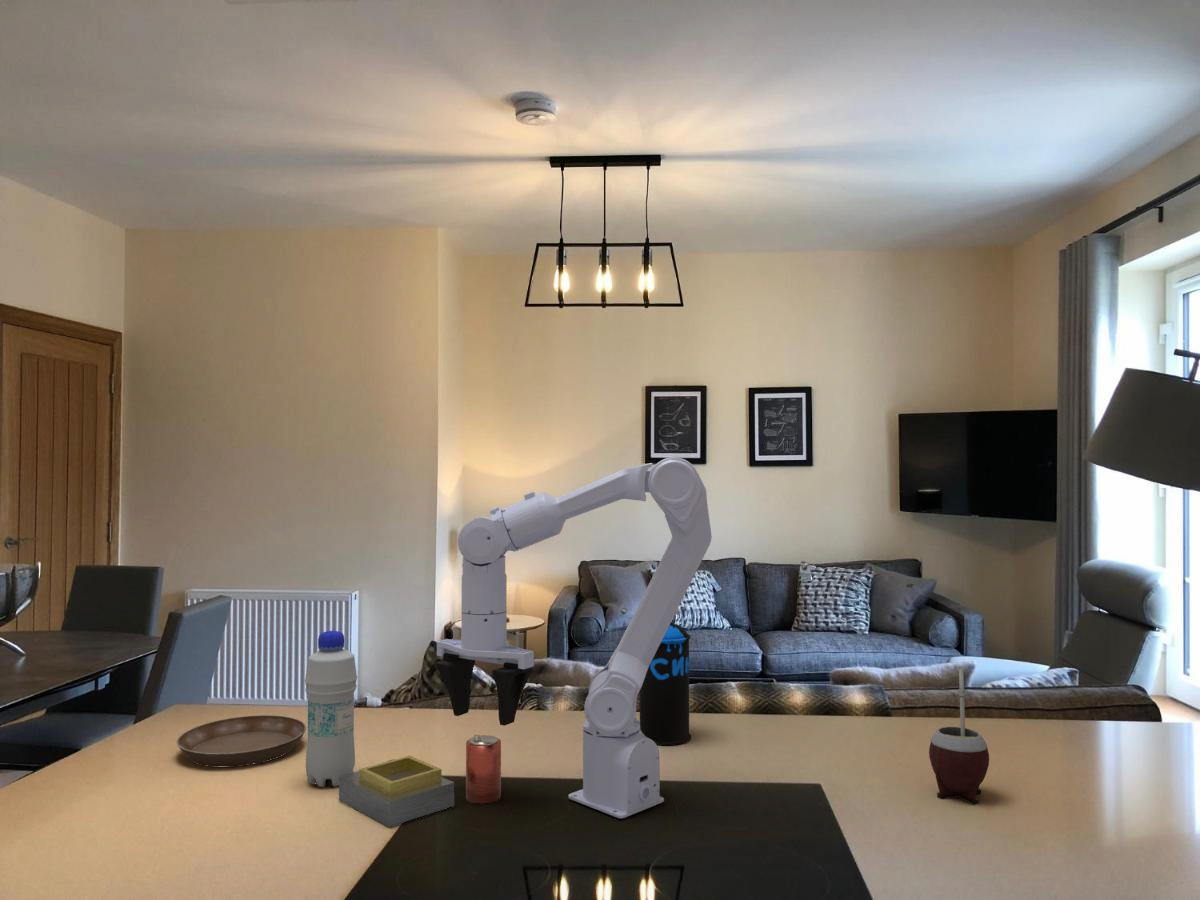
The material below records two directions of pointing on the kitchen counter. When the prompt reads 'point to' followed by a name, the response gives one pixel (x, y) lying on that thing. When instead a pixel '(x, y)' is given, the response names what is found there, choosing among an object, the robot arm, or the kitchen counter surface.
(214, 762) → the plant saucer
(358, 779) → the grey socket block
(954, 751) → the mate gourd
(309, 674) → the bottle
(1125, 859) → the kitchen counter surface
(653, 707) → the aerosol can
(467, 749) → the red metal cylinder
